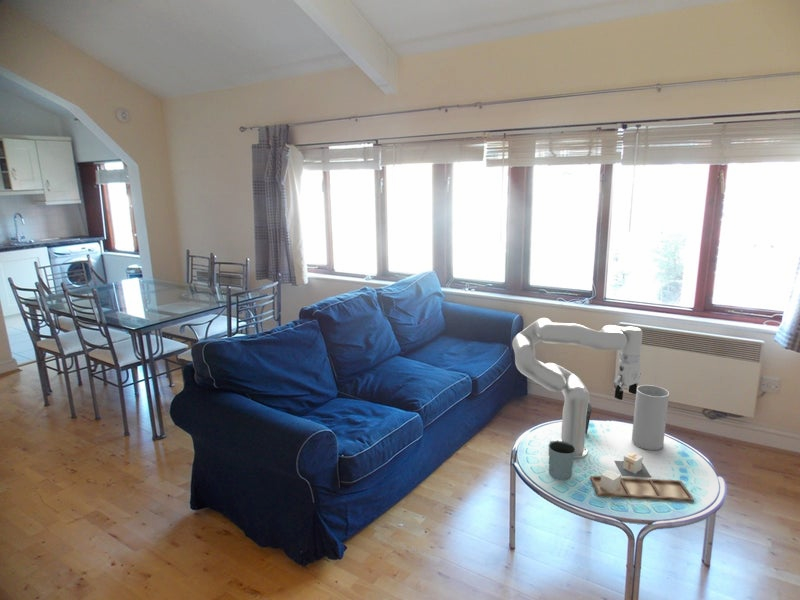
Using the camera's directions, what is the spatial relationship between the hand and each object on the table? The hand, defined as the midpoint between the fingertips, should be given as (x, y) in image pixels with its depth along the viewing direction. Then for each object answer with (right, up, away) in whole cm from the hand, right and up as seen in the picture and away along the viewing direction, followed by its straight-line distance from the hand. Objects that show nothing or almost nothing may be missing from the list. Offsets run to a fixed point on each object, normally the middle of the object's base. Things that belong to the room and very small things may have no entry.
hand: (625, 395), depth 207 cm
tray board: (-3, -32, -19) cm, 37 cm away
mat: (0, -29, -6) cm, 29 cm away
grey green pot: (-30, -30, -8) cm, 43 cm away
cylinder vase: (+16, -24, +13) cm, 31 cm away
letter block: (0, -28, -6) cm, 29 cm away
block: (-14, -31, -18) cm, 39 cm away
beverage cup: (-9, -22, +24) cm, 34 cm away
